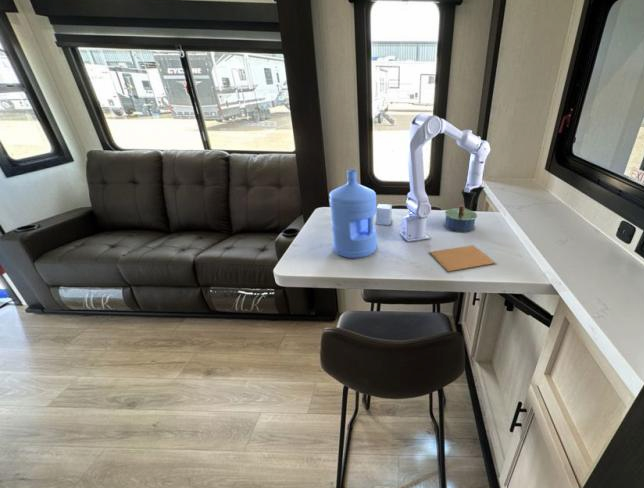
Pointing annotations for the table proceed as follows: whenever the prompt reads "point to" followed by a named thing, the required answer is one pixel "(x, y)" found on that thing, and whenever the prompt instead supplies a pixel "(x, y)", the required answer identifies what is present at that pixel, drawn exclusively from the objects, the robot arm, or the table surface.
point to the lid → (460, 213)
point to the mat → (461, 258)
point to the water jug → (353, 218)
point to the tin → (459, 224)
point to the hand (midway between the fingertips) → (470, 205)
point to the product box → (383, 214)
